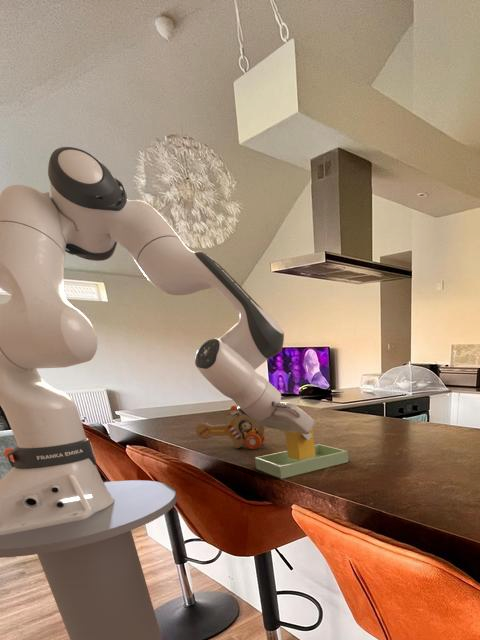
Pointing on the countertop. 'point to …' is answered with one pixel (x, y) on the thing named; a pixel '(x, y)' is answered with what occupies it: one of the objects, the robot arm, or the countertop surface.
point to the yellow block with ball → (299, 446)
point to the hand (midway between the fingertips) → (301, 436)
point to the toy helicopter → (236, 430)
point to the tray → (300, 462)
